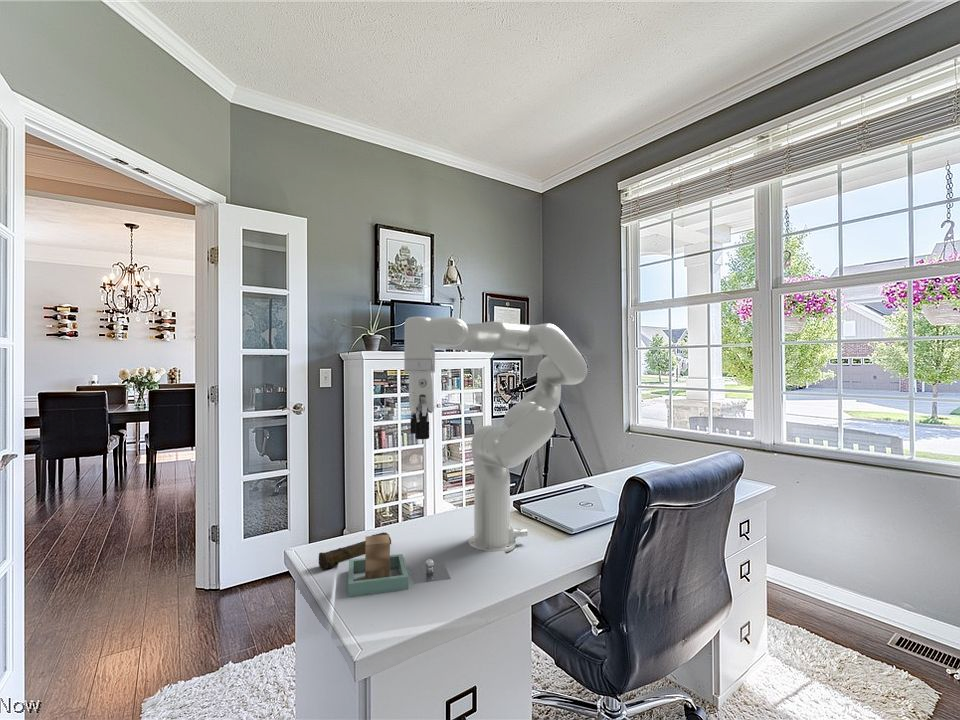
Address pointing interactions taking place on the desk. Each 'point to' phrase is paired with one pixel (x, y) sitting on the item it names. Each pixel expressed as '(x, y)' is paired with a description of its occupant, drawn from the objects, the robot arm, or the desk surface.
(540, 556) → the desk surface
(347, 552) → the hand tool
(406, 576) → the bin
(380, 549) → the brown wooden block
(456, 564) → the desk surface
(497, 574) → the desk surface
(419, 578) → the stud base
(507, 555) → the desk surface
